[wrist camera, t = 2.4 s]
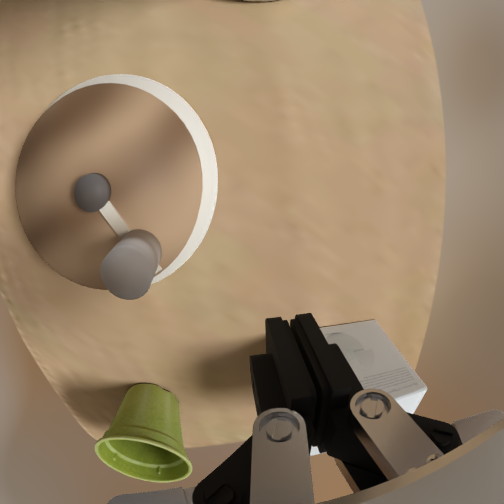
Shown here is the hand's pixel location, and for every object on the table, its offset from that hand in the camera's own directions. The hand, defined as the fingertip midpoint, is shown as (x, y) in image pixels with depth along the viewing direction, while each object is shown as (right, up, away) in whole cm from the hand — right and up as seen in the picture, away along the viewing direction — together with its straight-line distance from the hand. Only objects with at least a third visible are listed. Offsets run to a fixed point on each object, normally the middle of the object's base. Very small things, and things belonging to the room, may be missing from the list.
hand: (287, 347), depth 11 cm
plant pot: (-12, -13, +18) cm, 25 cm away
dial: (-11, +8, +7) cm, 16 cm away
